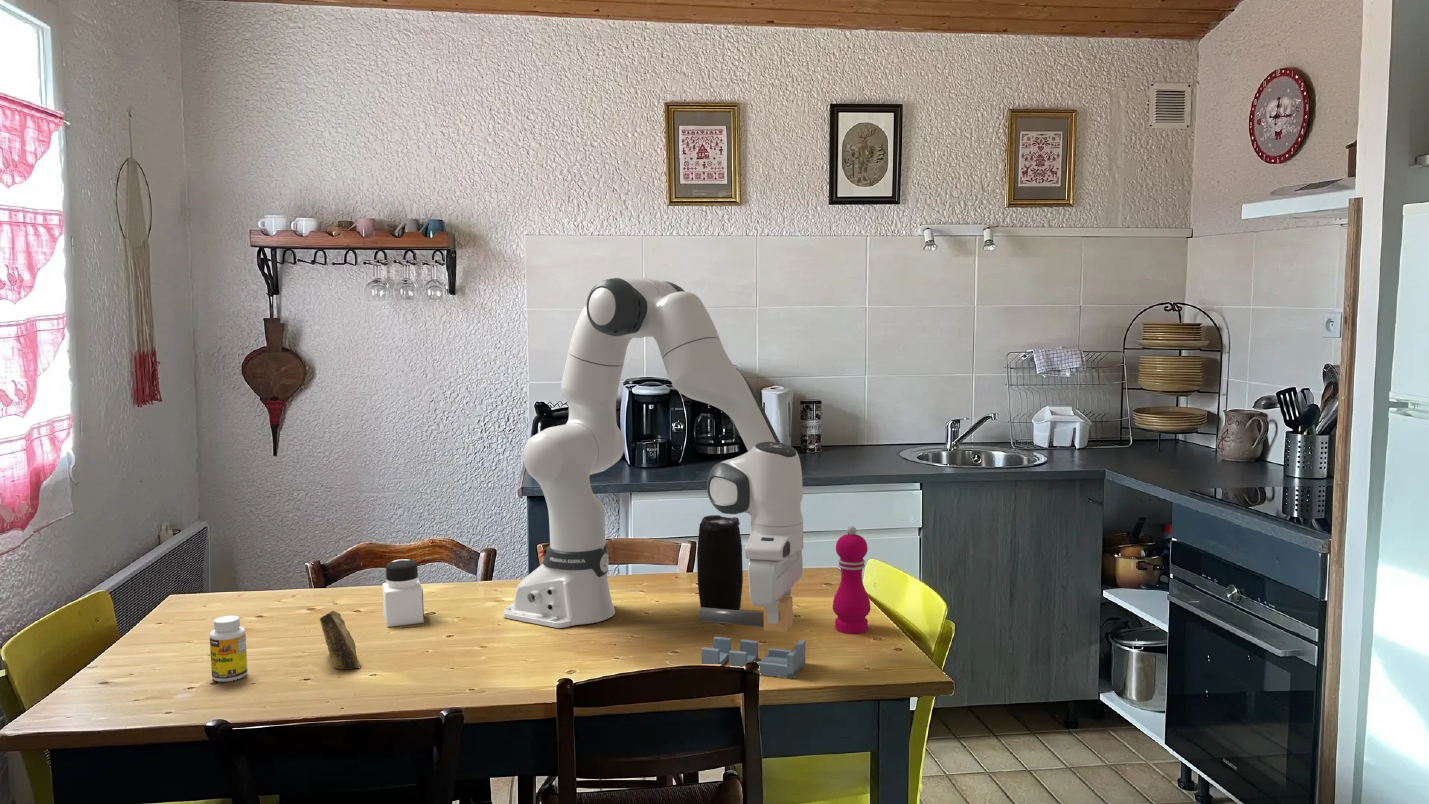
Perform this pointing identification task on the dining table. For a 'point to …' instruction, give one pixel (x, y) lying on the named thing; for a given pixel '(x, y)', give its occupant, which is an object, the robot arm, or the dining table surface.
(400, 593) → the medicine bottle
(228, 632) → the supplement bottle
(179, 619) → the dining table surface
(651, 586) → the dining table surface
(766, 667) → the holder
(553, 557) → the robot arm
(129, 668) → the dining table surface
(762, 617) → the grey and tan hammer
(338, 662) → the rock
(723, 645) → the clip
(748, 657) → the clip
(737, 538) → the portable speaker
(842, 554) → the pepper mill
